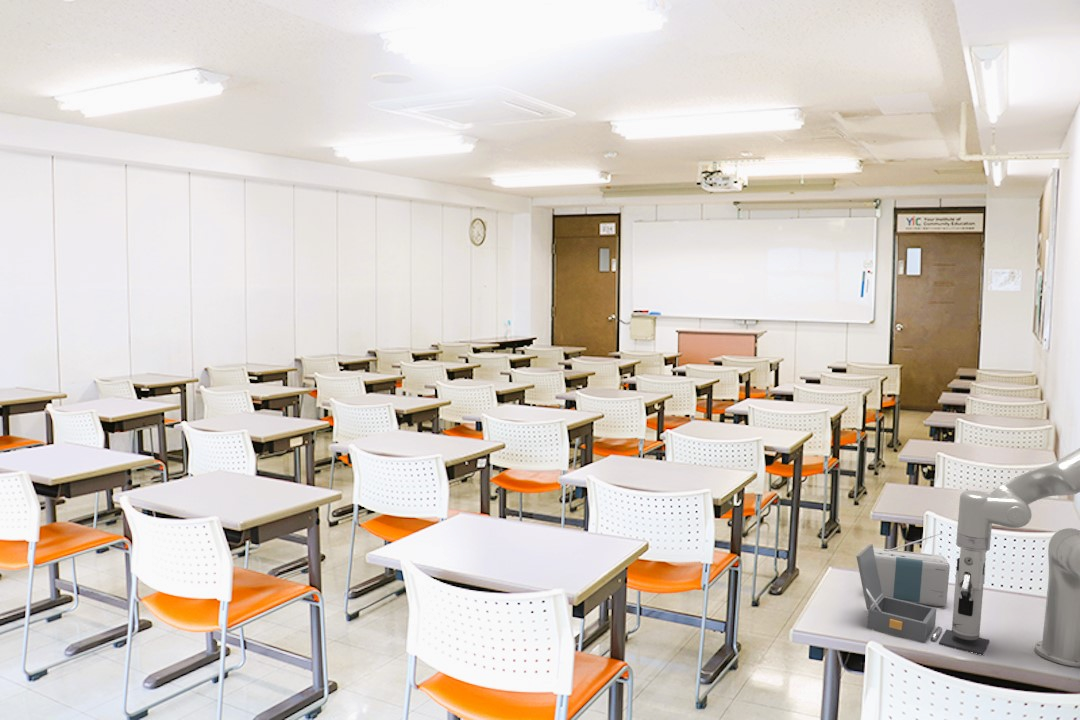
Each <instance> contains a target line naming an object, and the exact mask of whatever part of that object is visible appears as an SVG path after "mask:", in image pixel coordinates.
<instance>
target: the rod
mask: <svg viewBox="0 0 1080 720" xmlns="http://www.w3.org/2000/svg"><path fill="white" fill-rule="evenodd" d="M942 631H943V628H942V626H937V628H936V629H935V631H934V632H933V634H932V635H931V637H930V641H931V642H936V641H937V639H938V637H939V635H940V634H941V632H942Z"/></svg>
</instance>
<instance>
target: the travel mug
mask: <svg viewBox="0 0 1080 720" xmlns="http://www.w3.org/2000/svg"><path fill="white" fill-rule="evenodd" d="M959 560H960V557H957V560H956V571H955V582H954V597H953V606H952V607H953V610H952V611H953V612H952V621H951V622H952V624H951V630H952V634H953V635H954V636H956V637H958V638H961V639H965V640H977V639H978V638H979V637H980V635H981V634H980V633H981V632H980V630H981V620H982V608H983V607H982V605H983V595H984V583H985V581H984V568H985V569H986V562H985V563H984V566H983V574H982V577H983V578H982V586H981V589H980V590H978V591H976V589H974V591H973V599H972V600H973V601H974V602H973V614H972V616H966V615H962V614H959V613H958V604H959V597H960V591H961V587H960V586H959V585H958V572H959ZM969 561H970V560H969ZM970 579H971V578H970ZM960 583H961V584H962V582H960ZM969 587H970V588H972V585H970V584H969ZM968 592H971V590H968Z"/></svg>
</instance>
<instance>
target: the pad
mask: <svg viewBox="0 0 1080 720" xmlns="http://www.w3.org/2000/svg"><path fill="white" fill-rule="evenodd" d="M939 639H940V640H939V642H938V645H939V646H943V645H944V647H948V648H952V649H955V648H956V650H958V651H962V652H967V651H968V652H967V653H971V652H973V653H972V654H974V653H977V654H976V655H978V654H981V655H980V656H982V655H983V654H984V655H985V653H986V650H987V648H988V645H989V643H990V639H988V638H983V637H980V636H979V638H978V639H977V640H965V639H961V638H958V637H956V636H954V635H953V634H952V629H951V630H950V629H948V628H946V629H945V631H944V633H943V635H942V637H941V638H939ZM984 652H985V653H984ZM984 655H983V656H984Z"/></svg>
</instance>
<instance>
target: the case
mask: <svg viewBox="0 0 1080 720" xmlns="http://www.w3.org/2000/svg"><path fill="white" fill-rule="evenodd" d="M873 548H874V545H873V544H872V543H871V544H868V545H867V546H865V548H864V549H862V550H861V552H859V553H858V554H857V555H856V556H855V557H856V562H857V567H858V571H859V572H858V573H859V576H860V580H861V581H860V582H861V586H862V592H863V596H864V601H865V607H866V610H867V625H866V629H868V628H869V629H868V630H872V629H873V631H877V632H880V633H885V634H888V635H892V636H896V637H901V638H903V639H907V640H911V641H916V642H920V643H924V644H925V643H926V642H927V640H928V639H929V637H930V635H931V634H932V632H933V630H934V629H935V628H936V621H937V607H932V606H930V605H928V606H927V605H925V604H919V603H912V602H907V601H903V600H899V599H895V598H890V597H886V596H883V593H882V589H881V584H880V579H879V574H878V569H877V564H876V559H875V554H874V550H873Z"/></svg>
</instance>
